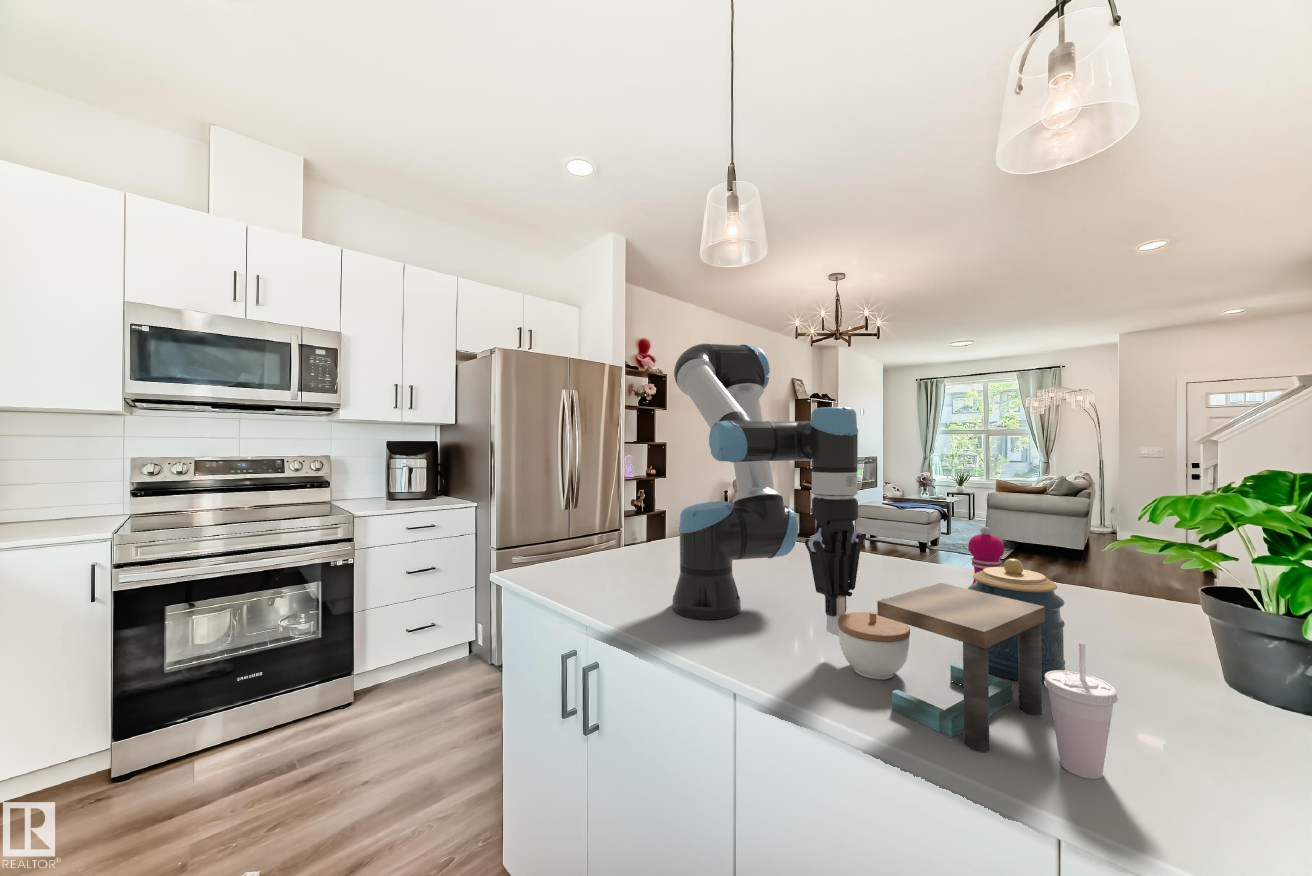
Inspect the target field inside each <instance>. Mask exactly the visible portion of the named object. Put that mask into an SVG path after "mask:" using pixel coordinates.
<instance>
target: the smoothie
mask: <svg viewBox="0 0 1312 876" xmlns="http://www.w3.org/2000/svg"><path fill="white" fill-rule="evenodd" d="M1078 653H1079V655H1078V657H1079V658H1078V663H1079V664H1078V666H1079V669H1078V670H1079V671H1078V672H1076V671H1072V670H1065V671H1063V670H1055V671H1049V672H1047V673H1046V674H1045V681H1044V683H1043V684H1044V686H1045V687H1046V688H1047V690H1048V696H1049V702H1050V708H1051V714H1052V721H1053V727H1054V732H1055V733H1054V734H1055V739H1056V745H1057V752H1058V758H1059V764H1060V766H1061V767H1063V768H1064V769H1065V770H1066V771H1068V772H1070V773H1072V774H1073V775H1075V776H1079V777H1081V778H1086V779H1091V780H1098V779H1101V778H1102V777H1103V773H1104V768H1105V760H1106V753H1107V746H1108V742H1109V741H1108V740H1109V733H1110V727H1111V721H1112V715H1113V709H1114V708H1113V707H1114V704H1116V703H1117V702H1118V700H1119V699H1118V696H1117V695H1118V693H1117V692H1118V691H1117V689H1116V688H1115V686H1113V685H1112V684H1110V683H1108V682H1107V681H1105V680H1103V679H1101V678H1097V677H1096V676H1092V675H1089V674H1087V673H1086V672H1087V670H1086V669H1087V664H1086V663H1087V662H1086V659H1087V658H1086V643H1085V642H1082V641H1079V642H1078Z"/></svg>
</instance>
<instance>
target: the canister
mask: <svg viewBox="0 0 1312 876" xmlns="http://www.w3.org/2000/svg"><path fill="white" fill-rule="evenodd" d="M972 577H973V580H974V579H975V580H976V583H975V584H973V583H972V584H973V585H972V584H971V585H970V586H969V585H968V587H967V589H970V590H974V591H979V592H983V593H988V594H992V595H997V596H1001V597H1005V598H1010V599H1014V600H1019V601H1023V602H1027V603H1032V604H1036V605H1041V606H1045V622H1042V623H1041V656H1042V684H1044V681H1045V674H1046V673H1047V672H1049V671H1055V670H1063V671H1066V660H1065V652H1064V651H1065V649H1064V646H1065V645H1064V640H1065V639H1064V628H1065V627H1066V622H1065V620H1063V619H1062V616H1061V609H1062V607H1064V605H1065V600H1064V599H1063V598H1062V597H1060V596H1059V595H1058V594H1056V592H1055V591H1056V590H1057V589H1058V584H1057V583H1056V582H1054V581H1052V580H1051V579H1049V578H1048V577H1047V576H1046V575H1044V574H1042V573H1040V572H1038V571H1037V572H1036V571H1033V570H1028V569H1024V565H1023V563H1022V562H1021V561H1020V560H1019V559H1016V558H1008V559H1006V560H1005V561H1004V563H1003V566H1001V567H988V568H985V569H983V570H982V571H980V572H977V573H975V574H974V573H973V576H972ZM988 673H990V674H993V675H996V676H999V677H1001V678H1005V679H1010V680H1013V681H1017V682H1018V634H1016V635H1014V636H1012V637H1009V638H1007V639H1005V640H1003V641H1000V642H998V643H996V644H994V645H992V646H989V647H988Z"/></svg>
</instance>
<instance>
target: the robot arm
mask: <svg viewBox="0 0 1312 876" xmlns="http://www.w3.org/2000/svg"><path fill="white" fill-rule="evenodd" d="M770 369H771V368H770V363H769V359H768V357H767V355H766V352H764V351H763V350H762V348H760V347H758V346H756V345H748V344H739V345H737V344H719V343H716V344H715V343H699V344H696V345H693V346H691V347H690V348H687V349H686V350H685V351H684V352H682V353H681V355H679V357H678V358H677V361H676V362H675V365H674V370H673V377H674V380H675V381H674V382H675V383H676V385H677V387H678V389H679V390H680V392H682V393H683V394H684V395H686V396H689V398H690V399H691V401H692V403H693V404H694V406H695V407H696V409H698V412H699V413H700V415H701V416H702V417H703V419H704V421H705V422H706V424H707V426H708V427H709V434H708V446H709V448H710V454H711V456H712V458H713V459H714V460H716V461H719V462H730V463H733V467H734V475H735V482H736V489H737V496H736V497H735V499H733V501H732V504H731V502H729V501H722V500H721V501H720V500H719V501H718V500H717V501H708V502H707V501H706V502H701V503H700V502H699V503H696V504H692V505H689V506H687V507H684V508H683V509H682V511H681V512H680V515H679V526H678V532H679V576H678V579H677V582H676V586H675V590H674V594H673V596H672V610H673V611H674V612H675V613H676V612H677V614H678V615H680V616H681V617H682V616H683V617H686V618H690V619H695V620H697V619H698V620H721V619H727V618H731V617H735V616H736V615H738V614H739V613H740V612H741V609H742V608H741V597H740V595H739V592H738V588H737V585H736V582H735V579H734V576H733V561H737V560H752V559H755V560H756V559H774V558H779V557H780V558H781V557H784V556H787V555H789V554H790V553H791V552H792V550H793V549H794V548H795V545H796V542H797V539H798V534H799V522H798V516H797V513H796V511H795V510H794V508H793V507H792V506H790V505H787V504H785V503H784V497H783V494H781V493H780V492H778V491H777V490H776V489H775V485H774V484H775V483H774V480H773V479H774V477H773V473H772V467H771V462H789V461H790V462H792V461H793V462H794V461H796V462H797V461H798V462H801V461H807V462H809V461H811V493H812V494H813V495H814V497H813V498H812V499H811V513H812V514H811V515H812V517H813V518H814V520H815V521H816V525H815V529H814V536H813V537H812V538H811V539H810V538H806V539H805V540H804V545H805V547H806V549H807V551H808V553H809V559H810V565H811V571H812V576H813V577H812V578H813V582H814V587H815V593H818V594H821V595H823V596H824V607H825V608H824V609H825V610H824V612H825V614H826V632H827V633H829V634H831V635H833V636H834V635H835V636H836V637H839V627H838V619H839V617H840V616H842V615H844V614H847V597H848V598H849V597H852V595H853V592H852V591H854V590H855V588H856V583H857V575H858V568H859V560H860V553H861V547H862V545H863V543H864V539H865V536H864V534H863V533H858V532H856V531H855V525H854V521H857V520H858V519H859V500H858V498H856V497H855V496H857V495H858V494H859V491H858V488H859V487H858V462H859V461H858V455H859V454H858V452H859V451H858V449H859V448H858V447H859V446H858V442H859V441H858V437H859V436H858V435H859V434H858V433H859V428H858V421H857V412H856V409H854V408H853V407H849V406H827V407H817V408H814V409H813V410H812V412H811V417H810V420H809V421H808V420H805V421H802V420H801V421H767V420H765V421H764V419H763V414H762V408H761V402H760V398H761V397H762V395H763V394H764V392H765V389H766V387H767V386H768V384H769V380H770V375H769V374H770V371H771V370H770Z"/></svg>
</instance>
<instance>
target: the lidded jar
mask: <svg viewBox="0 0 1312 876" xmlns="http://www.w3.org/2000/svg"><path fill="white" fill-rule="evenodd" d="M838 627H839V636H838V638H839V639H838V641H839V646H840V650H841V651H842V655H843V656H844V658H845V660H846V661H847V663H848V664H849V665H850V666H851V667H852V668H853V670H854V672H856V673H857V675H860V676H862V677H865V678H867V679H873V680H883V681H884V680H889V679H890V680H891V679H892V678H894V676H895V674H897V673H898V672H899V671H900V670H902V668H903V667H904V665H905V664H906V662H907V659H908V655H909V650H910V635H911V628H910V625H907V624H904V623H901V622H898V621H894V620H891V619H888V618H885V617H882V616H878V612H875V611H869V612H865V611H864V612H863V611H859V612H858V611H857V612H849V613H847V612H846V613H845V614H844V615H842V616H840V617H839V619H838Z"/></svg>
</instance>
